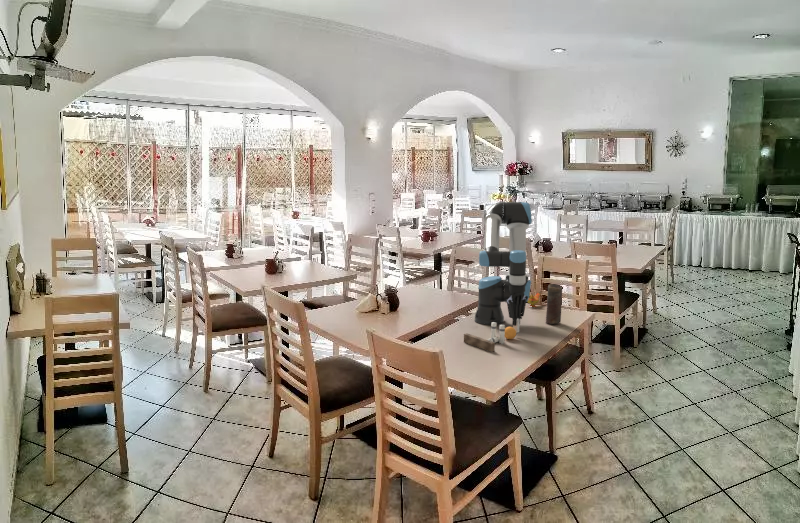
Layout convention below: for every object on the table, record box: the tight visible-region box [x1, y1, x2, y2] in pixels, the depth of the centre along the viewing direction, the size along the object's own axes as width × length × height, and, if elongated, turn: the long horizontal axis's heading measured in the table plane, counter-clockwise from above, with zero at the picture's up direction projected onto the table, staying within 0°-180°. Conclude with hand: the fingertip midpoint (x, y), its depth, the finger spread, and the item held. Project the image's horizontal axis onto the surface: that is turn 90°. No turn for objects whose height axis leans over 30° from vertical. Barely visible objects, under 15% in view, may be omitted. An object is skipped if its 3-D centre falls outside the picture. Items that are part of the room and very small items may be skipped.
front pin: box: [486, 336, 499, 344], centre depth 275 cm, size 2×2×8 cm
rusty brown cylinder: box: [545, 283, 563, 325], centre depth 303 cm, size 8×7×20 cm
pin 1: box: [490, 322, 498, 338], centre depth 277 cm, size 2×2×8 cm
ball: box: [505, 326, 517, 340], centre depth 279 cm, size 6×6×6 cm
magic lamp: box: [526, 291, 542, 308], centre depth 340 cm, size 7×18×11 cm, turn 143°
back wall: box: [463, 333, 496, 353], centre depth 269 cm, size 18×2×4 cm, turn 36°
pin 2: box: [498, 324, 506, 345], centre depth 273 cm, size 2×2×8 cm
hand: (516, 331), depth 283 cm, fingers closed
